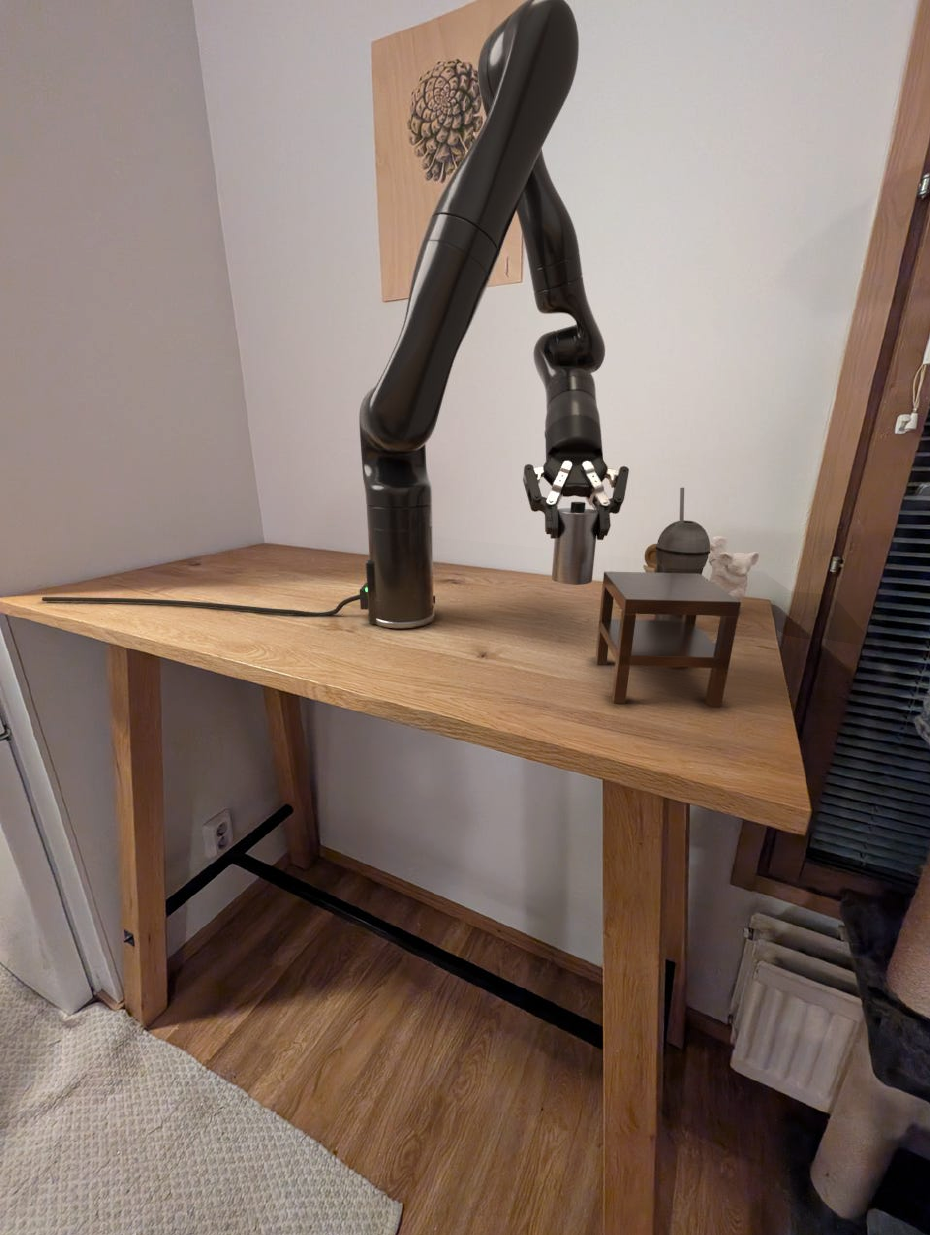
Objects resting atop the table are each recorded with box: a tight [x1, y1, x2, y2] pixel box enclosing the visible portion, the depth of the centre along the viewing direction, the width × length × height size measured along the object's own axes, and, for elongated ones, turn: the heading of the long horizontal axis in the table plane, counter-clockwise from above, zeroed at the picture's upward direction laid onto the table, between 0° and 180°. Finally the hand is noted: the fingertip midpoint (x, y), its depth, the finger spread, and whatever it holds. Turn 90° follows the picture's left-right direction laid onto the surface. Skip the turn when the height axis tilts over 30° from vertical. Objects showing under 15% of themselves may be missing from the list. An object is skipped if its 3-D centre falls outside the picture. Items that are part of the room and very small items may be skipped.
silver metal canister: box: [551, 501, 599, 586], centre depth 66 cm, size 5×5×10 cm
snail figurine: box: [643, 543, 657, 573], centre depth 83 cm, size 5×6×12 cm
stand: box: [594, 571, 742, 708], centre depth 57 cm, size 11×11×12 cm
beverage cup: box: [654, 487, 711, 621], centre depth 73 cm, size 7×7×20 cm
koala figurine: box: [708, 534, 760, 601], centre depth 81 cm, size 8×7×12 cm
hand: (578, 535), depth 64 cm, fingers closed on silver metal canister, 5 cm apart
